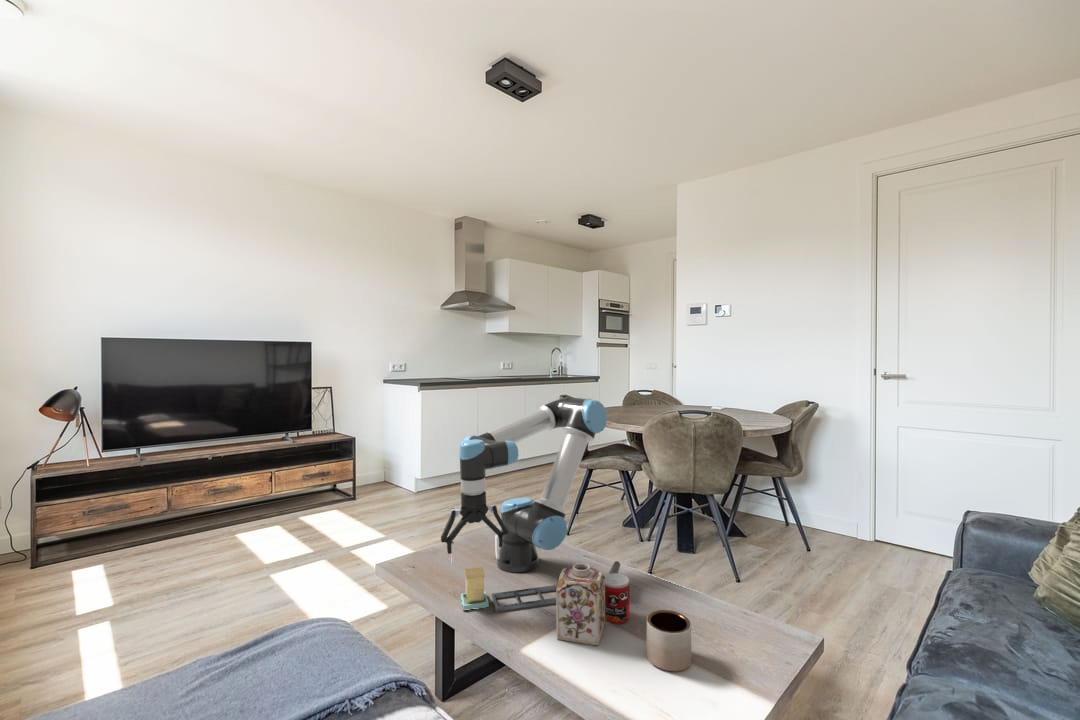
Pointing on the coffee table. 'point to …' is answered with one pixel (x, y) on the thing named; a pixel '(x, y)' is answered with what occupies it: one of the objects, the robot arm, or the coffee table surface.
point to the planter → (669, 640)
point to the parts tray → (475, 605)
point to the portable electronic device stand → (615, 568)
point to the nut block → (474, 585)
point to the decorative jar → (580, 604)
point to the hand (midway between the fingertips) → (475, 560)
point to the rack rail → (524, 604)
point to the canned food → (617, 598)
